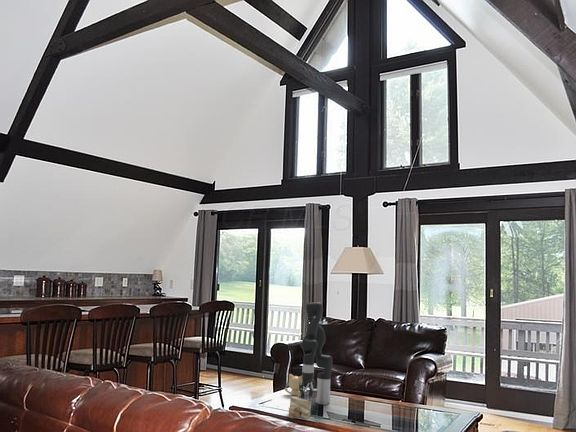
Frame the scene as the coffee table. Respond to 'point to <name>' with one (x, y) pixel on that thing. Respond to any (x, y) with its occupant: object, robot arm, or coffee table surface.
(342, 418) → the coffee table surface
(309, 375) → the robot arm
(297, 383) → the kitten
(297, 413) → the oak slotted rail
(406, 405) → the coffee table surface
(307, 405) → the birch slotted plate
